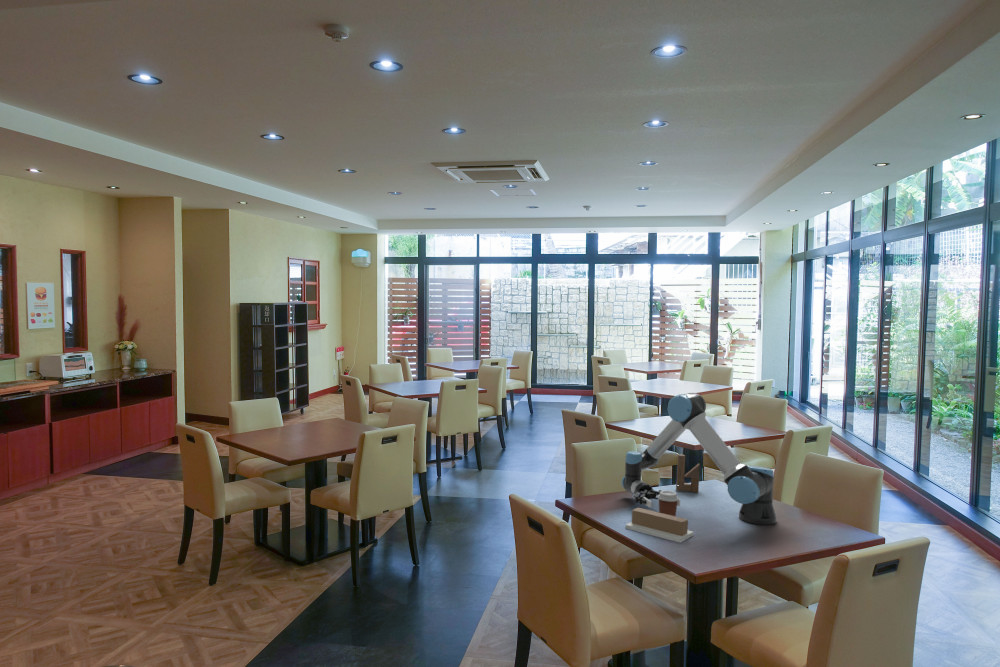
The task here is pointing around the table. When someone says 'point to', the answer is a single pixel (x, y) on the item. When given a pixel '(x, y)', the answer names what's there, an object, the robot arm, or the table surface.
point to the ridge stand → (659, 525)
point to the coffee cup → (668, 502)
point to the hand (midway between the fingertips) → (665, 503)
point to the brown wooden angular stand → (687, 476)
